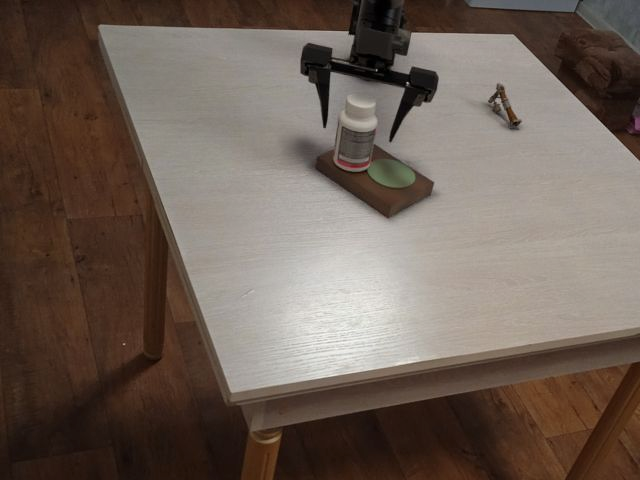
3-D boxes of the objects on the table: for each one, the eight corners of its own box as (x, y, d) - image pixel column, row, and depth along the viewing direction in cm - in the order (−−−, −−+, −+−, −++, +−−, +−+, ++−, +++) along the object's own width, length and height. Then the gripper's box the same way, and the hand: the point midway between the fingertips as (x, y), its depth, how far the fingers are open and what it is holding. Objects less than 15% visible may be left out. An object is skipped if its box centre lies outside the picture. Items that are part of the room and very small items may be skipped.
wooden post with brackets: (491, 96, 143) (504, 79, 140) (509, 135, 142) (523, 119, 138) (482, 97, 143) (495, 80, 139) (500, 136, 141) (514, 120, 137)
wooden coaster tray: (360, 147, 125) (362, 134, 123) (431, 193, 120) (435, 181, 118) (314, 168, 118) (316, 155, 117) (388, 217, 114) (391, 204, 112)
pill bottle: (377, 169, 117) (388, 106, 111) (345, 176, 115) (355, 112, 108) (357, 149, 120) (367, 87, 113) (325, 155, 118) (333, 92, 111)
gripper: (312, -19, 105) (289, 102, 104) (455, 15, 107) (433, 133, 106) (311, 17, 116) (290, 126, 115) (440, 47, 118) (420, 154, 117)
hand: (357, 134), depth 113 cm, fingers open, 9 cm apart
